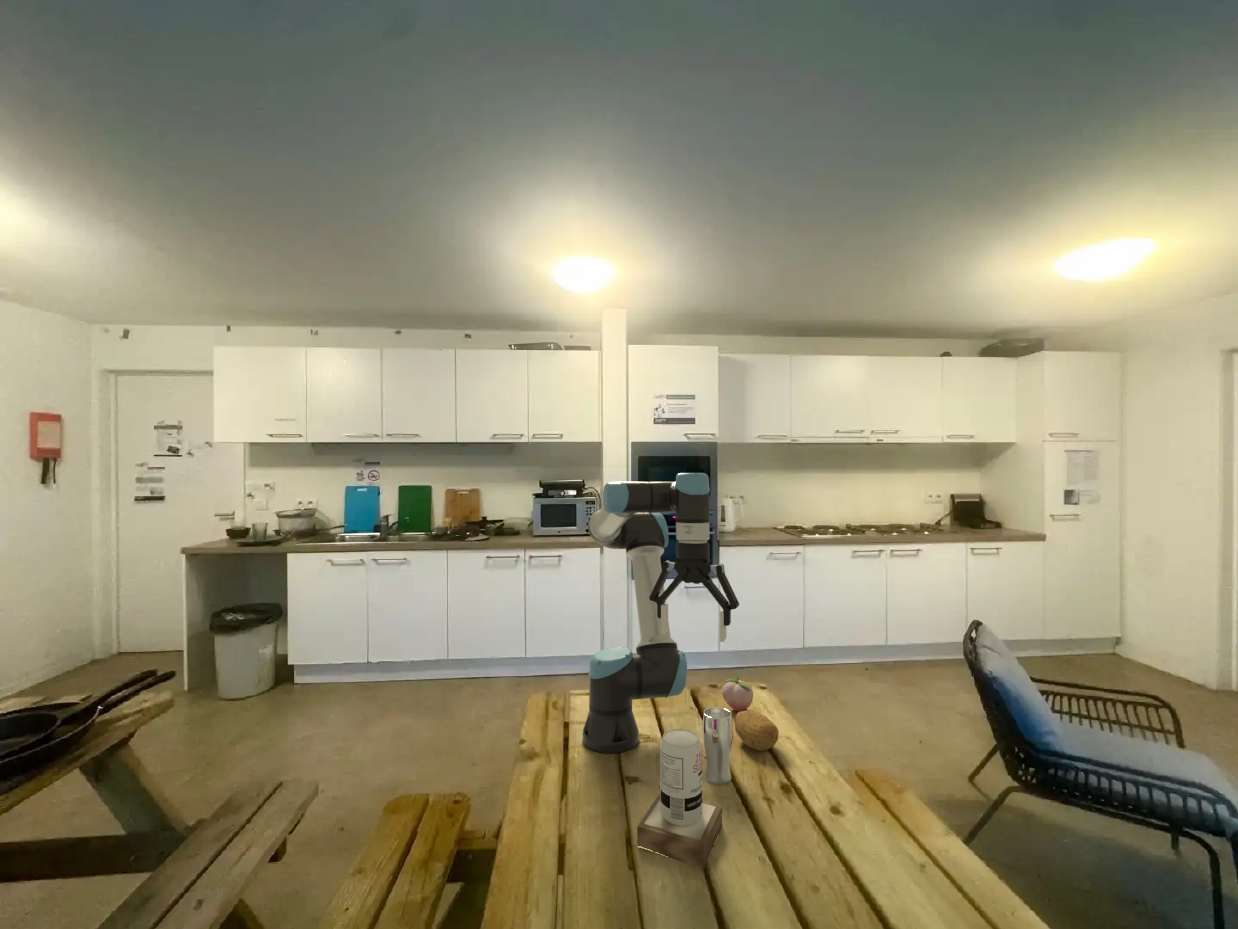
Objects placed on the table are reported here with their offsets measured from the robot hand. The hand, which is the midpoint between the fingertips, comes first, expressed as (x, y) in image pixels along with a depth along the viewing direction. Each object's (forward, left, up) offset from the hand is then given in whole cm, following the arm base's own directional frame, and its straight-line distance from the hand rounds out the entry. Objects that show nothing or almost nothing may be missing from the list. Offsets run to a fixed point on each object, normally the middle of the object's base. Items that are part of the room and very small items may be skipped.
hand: (693, 636), depth 121 cm
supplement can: (+2, -15, -31) cm, 34 cm away
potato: (+8, +28, -35) cm, 45 cm away
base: (+2, -15, -35) cm, 38 cm away
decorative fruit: (-1, +48, -35) cm, 59 cm away
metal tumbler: (+3, +9, -35) cm, 36 cm away
